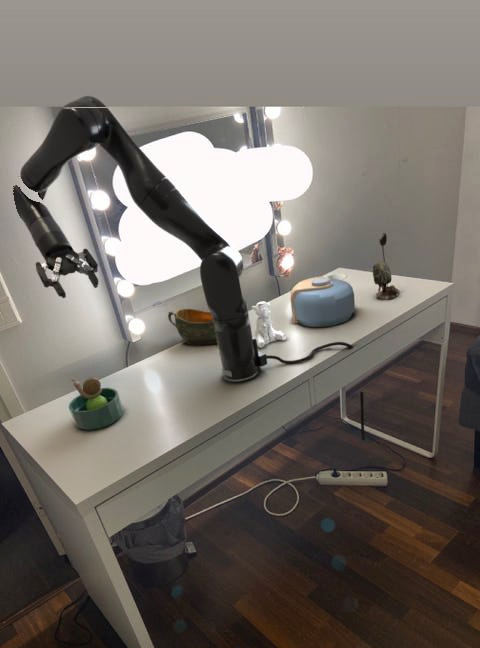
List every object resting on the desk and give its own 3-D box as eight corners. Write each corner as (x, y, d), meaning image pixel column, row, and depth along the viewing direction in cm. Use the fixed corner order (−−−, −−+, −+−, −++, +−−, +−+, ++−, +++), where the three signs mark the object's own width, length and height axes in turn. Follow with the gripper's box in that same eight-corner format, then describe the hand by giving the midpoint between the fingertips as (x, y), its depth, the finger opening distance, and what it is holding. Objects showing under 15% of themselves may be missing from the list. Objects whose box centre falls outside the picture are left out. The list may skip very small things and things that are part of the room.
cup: (201, 327, 170) (195, 299, 165) (239, 338, 156) (233, 307, 151) (171, 341, 164) (164, 312, 159) (207, 353, 150) (200, 321, 145)
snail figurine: (83, 418, 126) (67, 376, 120) (105, 407, 129) (90, 366, 123) (92, 424, 122) (76, 381, 116) (115, 413, 125) (100, 371, 119)
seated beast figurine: (259, 349, 146) (253, 310, 140) (246, 341, 153) (240, 304, 147) (287, 339, 149) (282, 301, 143) (273, 332, 156) (268, 295, 149)
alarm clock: (316, 303, 172) (313, 268, 165) (366, 309, 158) (365, 272, 152) (281, 323, 161) (276, 286, 155) (332, 331, 148) (329, 292, 142)
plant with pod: (365, 300, 167) (363, 238, 156) (386, 289, 172) (385, 229, 162) (385, 303, 161) (384, 239, 150) (406, 292, 166) (406, 230, 156)
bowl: (113, 401, 133) (106, 383, 130) (131, 416, 124) (125, 397, 121) (70, 420, 127) (62, 401, 125) (86, 437, 118) (78, 417, 116)
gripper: (21, 237, 119) (52, 290, 117) (77, 223, 126) (107, 273, 123) (24, 257, 126) (54, 308, 124) (77, 243, 132) (106, 291, 130)
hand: (80, 290), depth 123 cm, fingers open, 8 cm apart
